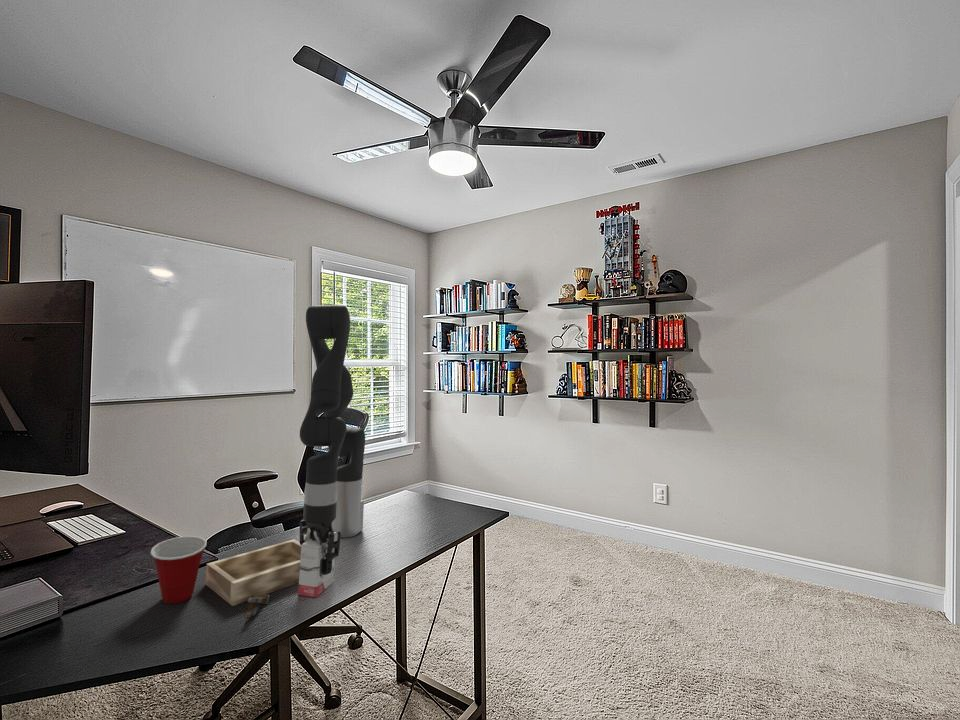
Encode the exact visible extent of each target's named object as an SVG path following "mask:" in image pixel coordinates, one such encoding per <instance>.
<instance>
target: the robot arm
mask: <svg viewBox="0 0 960 720" xmlns="http://www.w3.org/2000/svg"><path fill="white" fill-rule="evenodd" d="M305 324H306V330H307V333H308V337H309V341H310V345H311V349H312V352H313V356H314V360H315V367H316V369H315V371H314V374H313V376H312V380H311V388H310V389H311V390H310V391H311V392H310V399H309V405H308V409H307V411H306V413H305V416H304V418H303V421H302V422H301V425H300V429H299V438H300V441H301V443H302V444H303V445H304V446H307V447H328V451H327V452H324V453H321V454H317V455H313V456H310V457H309V458H308V459H307V461H306V471H305V472H306V476H305V487H304V494H303V496H304V497H303V516H302V517H303V518H302V519H301V520H299V542H300V545H302V544H303V543H304V542H306V541H307V540H309V539H310V538H311V539H312V540H313V541H314V540H315V541H317V544H318V545H320V546H322V548H321V549H322V558H323V559H322V574H323V575H326V574H329V573H331V570H332V558H334V557H335V558H337V557H339V554H340V544H341V538H352V537H355V536H357V534H358V533H359V532H360V531H362V530H363V531H364V527H363V526H364V509H365V508H364V507H365V504H364V503H365V502H364V501H363V500H362V495H363V494H362V491H363V487H362V486H363V472H364V459H365V458H364V456H365V446H366V433H365V430H364V429H363V428H361V427H356V426H355V427H351V426H350V427H349V426H347V424H346V423H347V422H346V421H345V420H344V419H343V418H342V416H343V414H344V412H345V411H346V410H347V409H348V407H349V405H350V404H351V402H352V400H353V397H354V388H353V380H352V375H351V372H350V370H349V369H348V368H347V366H346V365H344V363H345V359H346V354H347V349H348V344H349V337H350V331H351V315H350V311H349V309H348V307H347V305H344V304H318V305H314V304H313V305H310V306H308V307H307V309H306V312H305ZM326 340H334V342H333V345H332V347H331V348H329V347H328V346H329V345H328V344H327V343H328V342H327V341H326ZM321 414H324V416H321ZM339 457H342V458H343V457H345V458H346V457H347V458H351V459H350V462H349V463H347V464H346V463H345V464H343V465H340V466H338V465H339V459H340V458H339ZM363 531H362V532H363ZM360 533H361V532H360ZM360 533H359V534H360ZM359 534H358V535H359ZM327 541H328V544H326V545H323V544H322V543H325V542H327ZM325 548H327V553H326V550H325ZM334 548H335V549H334ZM333 549H334V551H333Z"/></svg>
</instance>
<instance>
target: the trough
mask: <svg viewBox="0 0 960 720" xmlns="http://www.w3.org/2000/svg"><path fill="white" fill-rule="evenodd" d="M301 546H302V545H300V541H299V540H296V539H294V538H293V539H290V540H287V541H283V542H279V543H276V544H272V545H268V546H265V547H262V548H258V549H254V550H251V551H247V552H244V553H240V554H237V555H232V556H229V557H226V558H222V559H219V560H215V561H211V562H208V563H206V570H205V572H206V573H205V585H206V586H207V587H208V588H209V589H210V590H212V591H213V592H214V593H215V594H217V595H218V596H219V597H221V598H222V599H223V600H224V601H225V602H226V603H228V604H229V605H230V606H231V607H234V606H237V605H240V604H243V603H245V602H248V599H249V597H251V596H252V595H254V596H255V597H261V595H269V594H271V593H273V592H276V591H279V590H282V589H286V588H287V587H290V586H293V585H297V584H299V573H300V558H301Z"/></svg>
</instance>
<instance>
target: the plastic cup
mask: <svg viewBox="0 0 960 720" xmlns="http://www.w3.org/2000/svg"><path fill="white" fill-rule="evenodd" d="M207 543H208V542H207V539H205V538H204V537H200V536H196V535H195V536H194V535H193V536H191V535H185V536H179V537H178V536H177V537H173V538H170V539H165V540H164V541H160V542H159V543H156V545H154V546H152V548H151V551H150V555H151V556H152V557H153V560H154V564H155V566H156V573H157V578H158V584H159V588H160V596H161V599H162V601H163V603H166V604H177V603H182V602H185V601H187V600H190V599H191V598H192V597H193V594H194V592H195V591H194V589H195V586H196V582H197V578H198V573H199V570H200V569H199V568H200V564H201V560H202V556H203V553H204V551H205V549H206V547H207Z"/></svg>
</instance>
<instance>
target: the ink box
mask: <svg viewBox="0 0 960 720" xmlns="http://www.w3.org/2000/svg"><path fill="white" fill-rule="evenodd" d="M322 544H323V545H326V544H328V541H327V542H325V543H322ZM321 548H322V546H320V545H318V544H317V541H315V540H314V541H313V540H312V539H311V538H310V539H309V540H307V541H306V542H304V543H303V544H302V546H301V558H300V573H299V583H298V588H297V589H298V590H297V596H305V597H312V598H317V597H318V596H320V594H322V593H323V592H324V591H325V590H326V589H327V588H328V587H330V586H331V584H333V583H334V581H335V565H336V564H335V563H336V557H334V558H332V570H331V573H329V574H326V575H323V574H322V559H323V558H322V549H321ZM334 549H335V548H334ZM334 549H333V551H334ZM325 550H326V553H327V548H325Z"/></svg>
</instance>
